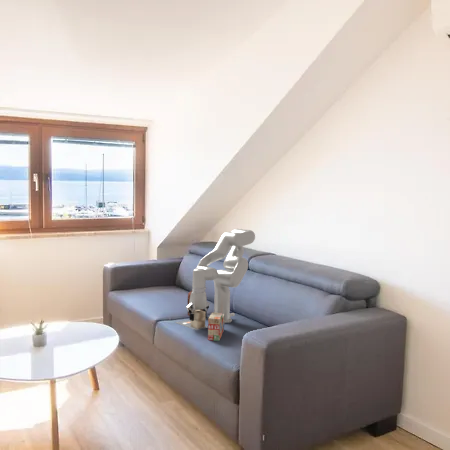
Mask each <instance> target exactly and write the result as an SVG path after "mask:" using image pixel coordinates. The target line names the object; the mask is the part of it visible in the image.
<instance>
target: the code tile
mask: <svg viewBox="0 0 450 450" xmlns="http://www.w3.org/2000/svg"><path fill="white" fill-rule="evenodd" d="M174 324H177V325H181V326H183V327H184V328H189V329H191V330H193V331H200V330H204V329H208V325H206V324H205V327H203V328H198V329H197V328H194V327H191V320H189V319H185V320H180V321H176V322H174Z"/></svg>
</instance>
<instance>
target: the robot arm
mask: <svg viewBox="0 0 450 450" xmlns="http://www.w3.org/2000/svg"><path fill="white" fill-rule="evenodd" d="M255 240H256V234H255V232H254V231H253V230H250V229H242V228H234V229H232V230H231V231H225V232H223V233H222V235H221V236H220V237H219V240H218V241H217V243H216V245H215V247H214V248H213V250H212V251H210V252H209V253H207V254H206V255H205V256H203V257H202V258H201V259H200V260H199V262H198V264H197V265H196V268H194V269H193V270H192V283H191V284H192V286H191V287H192V289H191V291H192V292H191V291H190V292H191V295H190V302H189V305H188V304H187V306H186V311H187V313H188V312H189V313H190V316H189V315H188V317H189V319H188V320H191V321H194V314H193V313H194V311H195V310H200V309H203V311H205V312H206V315H205V319H207V314H208V310H209V308H210V305H211V303H210V301H207V299H208V298H207V293H206V289H207V287H206V284H207V283H206V282H207V281H213V284H214V298H213V299H214V303H213V304H214V305H213V306H214V307H213V312H214V313H223V314H224V324H225V323H227V324H229V323H231V322H232V321H233V319H232V318H231V317H234V316H235V315H236V314H235V312H230V309H231V308H230V307H231V304H230V303H231V290H230V288H234V289H235V288H237V287H238V286H239V285H240V284H241V282H242V280H243V278H244V277H245V275H246V273H247V271H248V269H249V261H248V260H247V258H245V257H243V256H244V254H245V253H244V252H245V249H244V247H245V246H248V245H251V244H252V243H254V242H255ZM223 259H224V261H223V263H222V264H223V265H222V266H223V268H224V269H218V270H217V269H216V268H214V267H211V266H210V265H212V264H213V263H215V262H218V261H221V260H223Z"/></svg>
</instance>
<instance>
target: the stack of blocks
mask: <svg viewBox="0 0 450 450" xmlns="http://www.w3.org/2000/svg"><path fill="white" fill-rule="evenodd" d="M207 321H208V323H207V326H208V328H207V340H208V341H214V342H216V341H217V342H219V341H220V339H221V338H222V336H223V333H224V331H225V323H224V314H223V313H214V311H213V312H211V313H210V315H209V316H208V320H207Z"/></svg>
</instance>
